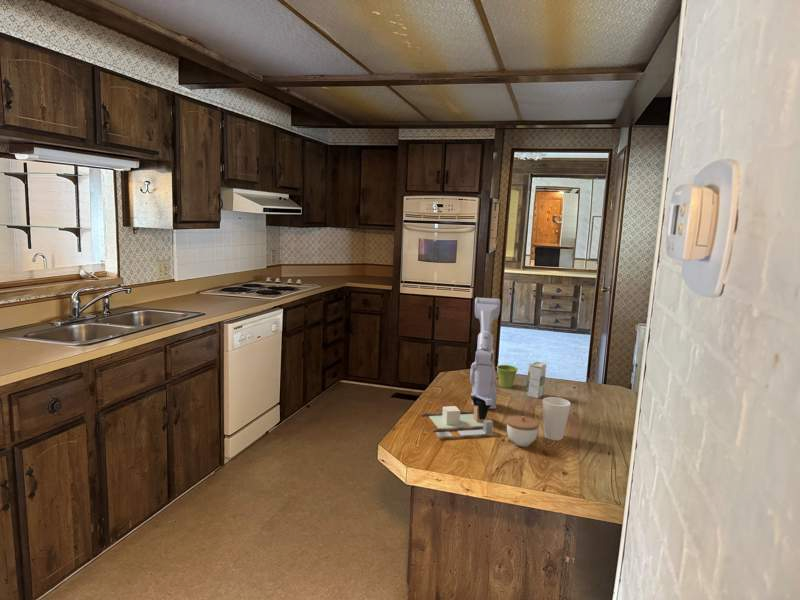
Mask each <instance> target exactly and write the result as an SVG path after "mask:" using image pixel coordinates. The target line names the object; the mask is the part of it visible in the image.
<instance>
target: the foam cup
mask: <svg viewBox="0 0 800 600" xmlns="http://www.w3.org/2000/svg"><path fill="white" fill-rule="evenodd" d="M541 406H542V412H543V414H542V415H543V416H542V417H543V432H544V433H543V435H544V437H545V438H546V439H547V438H548V439H547V440H550V439H551V441H561V439H562V440H563V439H564V434H565V432H566V427H567V422H568V418H569V413H570V411H571V406H572V403H571V402H570V401H569V400H568V399H565V398H562V397H558V396H557V397H555V396H554V397H553V396H548V397H544V398H543V399H542V404H541Z"/></svg>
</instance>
